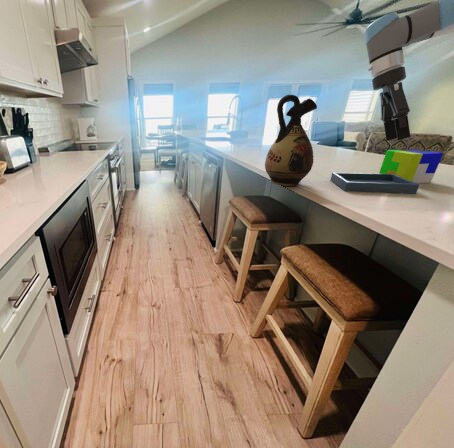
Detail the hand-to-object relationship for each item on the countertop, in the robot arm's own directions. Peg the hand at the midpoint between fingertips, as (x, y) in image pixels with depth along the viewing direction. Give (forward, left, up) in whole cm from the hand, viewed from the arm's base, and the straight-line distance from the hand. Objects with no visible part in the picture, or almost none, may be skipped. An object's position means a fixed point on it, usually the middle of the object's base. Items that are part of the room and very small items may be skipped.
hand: (397, 139), depth 79 cm
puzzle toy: (-10, -8, -15) cm, 20 cm away
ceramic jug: (+32, +4, -15) cm, 36 cm away
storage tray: (+5, +4, -15) cm, 16 cm away
